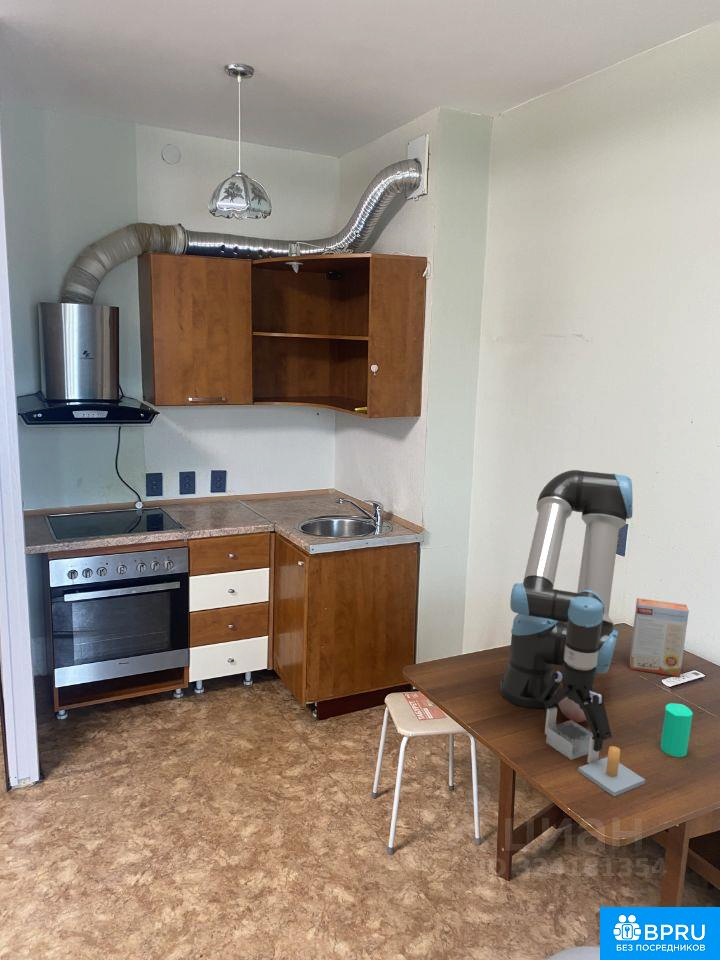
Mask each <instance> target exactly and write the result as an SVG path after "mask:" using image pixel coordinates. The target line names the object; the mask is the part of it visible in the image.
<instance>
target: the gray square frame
mask: <svg viewBox="0 0 720 960" xmlns="http://www.w3.org/2000/svg"><path fill="white" fill-rule="evenodd" d="M590 736H593V734H592V731H591V730H588V728H585V727H584V726H582V725H580V724H579V723H578V722H574V721H573V720H570V719H569V720H567V721H566V720H565V721H563V722H560V723H556V725H554V726H551V727H548V729H547V735H546V740H545V743H546V744H547V745H548V746H550V747H551V748H553V749H554V750H556V751H558V752H559V753H560V754H561V755H563V756H564V757H566V758H567V759H569V760H570V761H572V760H575V759H579V758H581V757H584V756H586V755H588V752H589V743H590Z"/></svg>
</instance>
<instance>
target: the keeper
mask: <svg viewBox="0 0 720 960" xmlns="http://www.w3.org/2000/svg"><path fill="white" fill-rule="evenodd" d="M620 758H621V749H620V748H619V747H618V746H615V745H611V746H609V747H608V753H607V756H606V757H603V758H600V759H598V761H595V762H592V763H587V764H585V765H580V766H579V767H578V769H577V772H578V773H579V774H581V775H582V776H584V777H585V778H587V779H588V780H589V781H591V782H592V783H594V784H595V785H597V787H599V788H601V789H602V790H604V791H605V792H607V793H608V794H610V795H611V796H612V797H616V796H619V795H621V794H623V793H626V792H628V791H631V790H634V789H636V788H638V787H640V786H642V785H645V784H646V779H645V778H644V777H642V776H640V775H639V774H638V773H636V772H635V771H632V770H631V769H629V768H628V767H626V766H625V765H623V764H622V763H620Z"/></svg>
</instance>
